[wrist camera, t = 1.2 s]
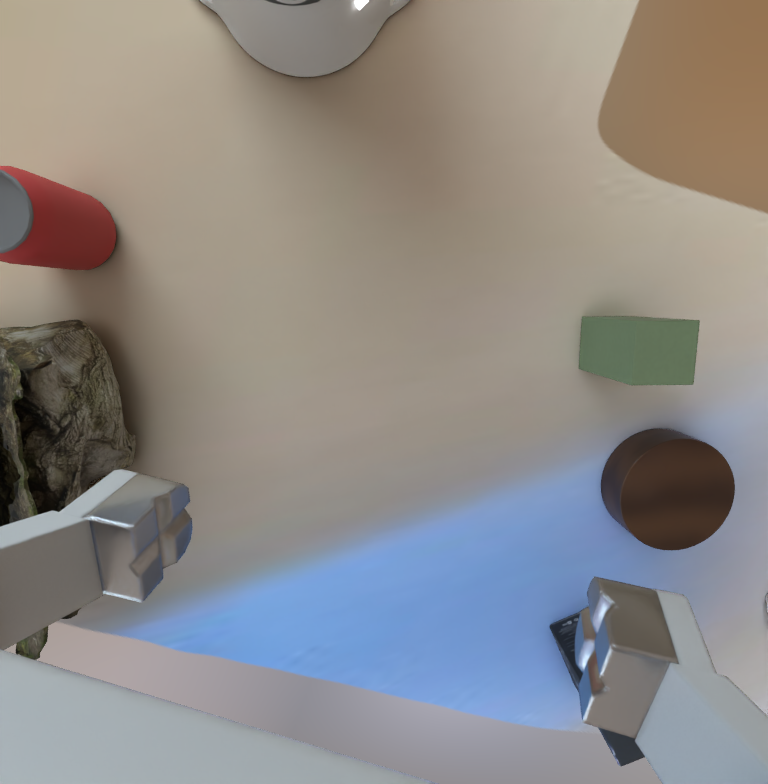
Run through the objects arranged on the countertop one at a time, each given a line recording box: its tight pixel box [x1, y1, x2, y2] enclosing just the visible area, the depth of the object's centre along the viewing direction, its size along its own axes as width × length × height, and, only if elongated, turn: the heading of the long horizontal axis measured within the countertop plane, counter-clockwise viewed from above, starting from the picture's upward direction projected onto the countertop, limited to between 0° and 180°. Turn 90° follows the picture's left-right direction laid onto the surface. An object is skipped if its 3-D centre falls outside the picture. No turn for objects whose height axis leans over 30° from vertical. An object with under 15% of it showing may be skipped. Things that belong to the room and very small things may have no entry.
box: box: [550, 612, 645, 766], centre depth 51 cm, size 8×6×11 cm
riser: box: [601, 428, 735, 550], centre depth 51 cm, size 11×11×4 cm
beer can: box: [0, 166, 116, 270], centre depth 41 cm, size 7×7×12 cm
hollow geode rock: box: [0, 320, 136, 660], centre depth 45 cm, size 28×13×15 cm
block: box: [579, 316, 700, 385], centre depth 46 cm, size 5×5×10 cm
